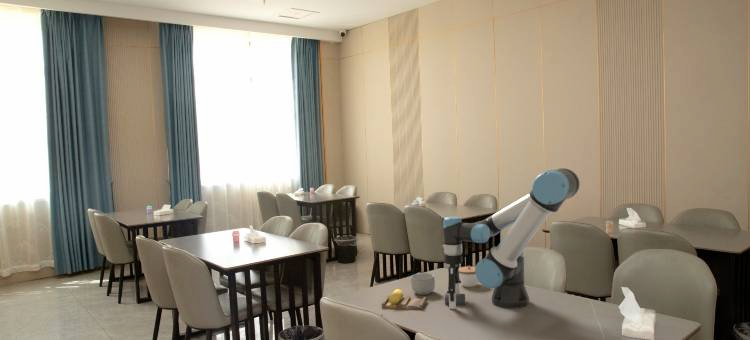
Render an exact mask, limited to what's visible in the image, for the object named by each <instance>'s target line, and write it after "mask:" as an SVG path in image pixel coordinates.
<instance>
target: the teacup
mask: <svg viewBox="0 0 750 340" xmlns="http://www.w3.org/2000/svg"><path fill="white" fill-rule="evenodd" d="M435 281H436V280H435V274H433V273H432V272H431V273H429V272H417V273H414V274H412V275H411V276H410V282H411V289H412V291H413V292H415V293H416V294H417V295H420V296H422V295H423V296H424V295H430V294H431V293H432V292H433V291H434V290H435V287H436V285H435V284H436V283H435Z"/></svg>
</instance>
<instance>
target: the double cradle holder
mask: <svg viewBox="0 0 750 340" xmlns="http://www.w3.org/2000/svg"><path fill="white" fill-rule="evenodd" d="M389 296H390V295H387V296H386V297H385V299H384V300H383V301H382V302H381V309H394V310H395V309H396V310H414V311H415V310H417V311H418V310H419V311H421V310H423V309H424V307H425V305H426V303H427V296H423V298H411V296H410V295H409V296H408V295H407V296H406V295H403V297H402V298H401V300H400V301H399V302H398V303H397V304H396V305H392V304H391V303H390V302H389Z"/></svg>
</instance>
